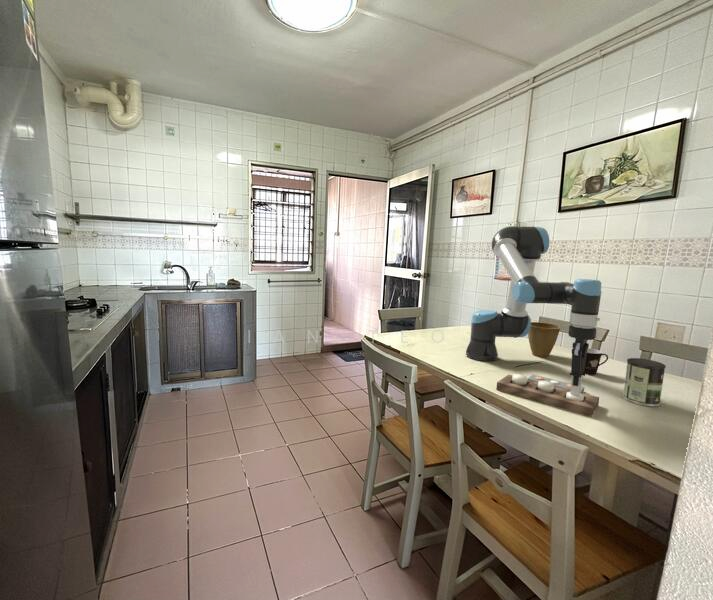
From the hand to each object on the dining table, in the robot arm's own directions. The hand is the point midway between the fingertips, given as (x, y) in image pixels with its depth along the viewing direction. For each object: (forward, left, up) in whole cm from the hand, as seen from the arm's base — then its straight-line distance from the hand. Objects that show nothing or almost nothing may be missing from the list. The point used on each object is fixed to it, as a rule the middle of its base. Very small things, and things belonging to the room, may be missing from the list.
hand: (575, 393), depth 114 cm
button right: (0, 0, -3) cm, 3 cm away
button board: (-9, 0, -4) cm, 10 cm away
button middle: (-9, 0, -1) cm, 9 cm away
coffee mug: (-2, +44, -4) cm, 44 cm away
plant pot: (-26, +57, -4) cm, 63 cm away
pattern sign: (-9, +13, -4) cm, 16 cm away
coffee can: (+16, +23, -4) cm, 28 cm away
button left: (-18, 0, -1) cm, 18 cm away
